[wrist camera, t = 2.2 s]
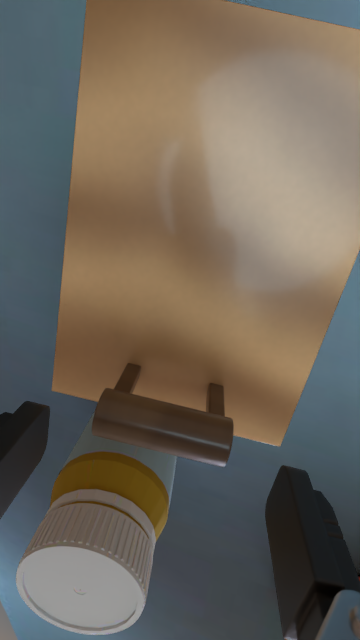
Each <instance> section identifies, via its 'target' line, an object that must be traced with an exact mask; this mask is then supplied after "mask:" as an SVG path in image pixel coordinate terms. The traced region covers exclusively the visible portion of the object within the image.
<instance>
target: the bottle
mask: <svg viewBox="0 0 360 640" xmlns="http://www.w3.org/2000/svg"><path fill="white" fill-rule="evenodd" d="M94 413H95V412H94ZM93 417H94V414H93V415H92V417H91V419H90V421H89V422H88V424H87V426H86V428H85V429H84V431H83V433H82V435H81V436H80V438H79V440H78V442H77V443H76V445H75V447H74V449H73V450H72V452H71V454H70V456H69V457H68V459H67V461H66V463H65V464H64V466H63V468H62V470H61V471H60V473H59V476H58V478H57V479H56V481H55V483H54V487H53V490H52V496H51V503H50V509H49V510H48V512H47V514H46V516H45V518H44V520H43V521H42V523H41V524H40V525H39V527H38V529H37V531H36V533H35V534H34V536H33V538H32V540H31V542H30V544H29V546H28V547H27V549H26V551H25V553H24V555H23V557H22V558H21V560H20V562H19V566H18V570H17V573H16V584H17V588H18V591H19V593H20V595H21V597H22V599H23V600H24V602H25V603H26V604H27V605H28V606H29V608H30V609H31V610H33V611H34V612H35V613H36V614H37V615H39V616H40V617H41V618H43V619H44V620H46V621H48V622H49V623H51V624H53V625H55V626H58V627H60V628H63V629H65V630H69V631H72V632H76V633H81V634H89V635H105V634H111V633H116V632H119V631H122V630H124V629H126V628H128V627H130V626H131V625H132V624H134V623H135V622H136V621H137V619H138V618H139V617H140V615H141V613H142V610H143V609H144V605H145V603H146V597H147V591H148V586H149V580H150V574H151V568H152V563H153V560H152V559H153V552H154V548H155V542H156V540H157V539H158V537H159V535H160V534H161V532H162V530H163V528H164V526H165V524H166V521H167V517H168V512H169V506H170V500H171V493H172V487H173V480H174V473H175V467H176V460H177V456H175V455H170V454H166V453H162V452H158V451H154V450H150V449H146V448H142V447H138V446H134V445H130V444H126V443H122V442H118V441H114V440H110V439H106V438H102V437H98V436H94V435H92V422H93Z"/></svg>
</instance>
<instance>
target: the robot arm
mask: <svg viewBox="0 0 360 640" xmlns="http://www.w3.org/2000/svg"><path fill="white" fill-rule="evenodd" d="M49 416H50V408H49V406H46V405H42V404H38V403H34V402H30V401H26V402H24V403H23V404H22V405H21V406H20V407H19V408H18V409H17V410H16V411H15V412H14V414H11V413H7V412H5V413H3V414H1V415H0V519H1V517H2V516H3V514H4V513H5V511H6V510H7V509H8V507H9V506H10V504H11V503H12V501H13V500H14V498H15V497H16V495H17V494H18V492H19V491H20V489H21V488H22V487H23V485H24V484H25V482H26V481H27V479H28V478H29V476H30V475H31V473H32V472H33V470H34V469H35V467H36V466H37V465H38V463H39V462H40V460H41V458H42V456H43V454H44V451H45V449H46V445H47V438H48V427H49ZM265 518H266V525H267V532H268V539H269V545H270V552H271V559H272V565H273V572H274V579H275V585H276V592H277V599H278V605H279V612H280V619H281V625H282V632H283V638H286V639H290V640H360V580H359V577H358V575H357V572H356V569H355V567H354V564H353V561H352V559H351V556H350V553H349V551H348V548H347V545H346V543H345V540H343V534H342V532H341V529H340V526H338V521H337V518H336V516H335V513H334V510H333V508H332V506H331V505H330V503H329V502H328V501H327V499H326V498H325V497H324V495H323V494H322V493H321V492H320V491H316V490H313V488H312V485H311V482H310V478H309V475H308V473H307V472H306V471H305V470H301V469H297V468H293V467H288V466H284V465H283V466H281V468H280V469H279V472H278V474H277V477H276V479H275V481H274V484H273V486H272V489H271V491H270V494H269V496H268V499H267V503H266V510H265Z"/></svg>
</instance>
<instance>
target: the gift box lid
mask: <svg viewBox="0 0 360 640" xmlns="http://www.w3.org/2000/svg"><path fill="white" fill-rule="evenodd" d="M359 250H360V30H359V29H354V28H350V27H345V26H341V25H336V24H331V23H327V22H322V21H318V20H313V19H308V18H304V17H299V16H294V15H290V14H285V13H281V12H276V11H271V10H267V9H262V8H257V7H253V6H248V5H244V4H239V3H234V2H230V1H225V0H87V2H86V14H85V25H84V36H83V47H82V58H81V70H80V81H79V92H78V103H77V114H76V126H75V137H74V148H73V159H72V170H71V182H70V193H69V204H68V215H67V226H66V237H65V249H64V260H63V271H62V282H61V293H60V305H59V316H58V327H57V338H56V349H55V361H54V372H53V383H52V391H56V392H60V393H64V394H68V395H72V396H76V397H80V398H84V399H88V400H92V401H96V402H98V404H97V407H96V410H95V413H94V417H93V422H92V435H94V436H98V437H102V438H106V439H110V440H114V441H118V442H122V443H126V444H130V445H134V446H138V447H142V448H146V449H150V450H154V451H158V452H162V453H166V454H170V455H175V456H179V457H183V458H187V459H191V460H195V461H199V462H203V463H207V464H211V465H215V466H219V467H224V466H225V465H226V463H227V461H228V458H229V455H230V451H231V446H232V441H233V435H235V436H239V437H243V438H247V439H251V440H255V441H259V442H263V443H267V444H271V445H275V446H280V445H281V443H282V440H283V438H284V435H285V433H286V431H287V428H288V426H289V423H290V421H291V418H292V416H293V413H294V411H295V408H296V406H297V403H298V401H299V398H300V396H301V393H302V391H303V388H304V386H305V384H306V381H307V379H308V376H309V374H310V371H311V369H312V366H313V364H314V361H315V359H316V356H317V354H318V351H319V349H320V346H321V344H322V341H323V339H324V337H325V334H326V332H327V329H328V327H329V324H330V322H331V319H332V317H333V314H334V312H335V309H336V307H337V304H338V302H339V299H340V297H341V294H342V292H343V290H344V287H345V285H346V282H347V280H348V277H349V275H350V272H351V270H352V267H353V265H354V262H355V260H356V257H357V255H358V252H359Z"/></svg>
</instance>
